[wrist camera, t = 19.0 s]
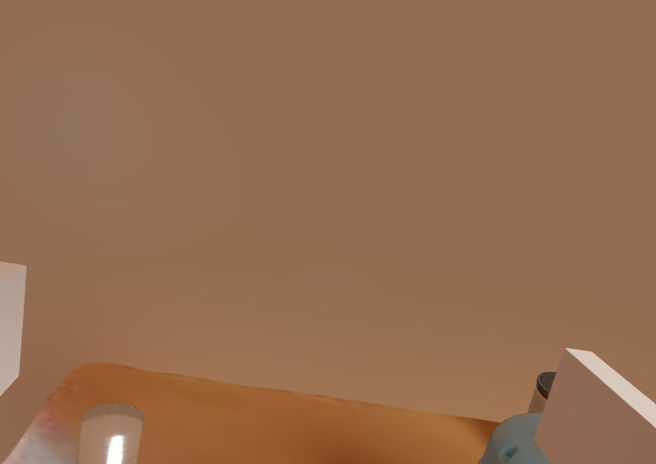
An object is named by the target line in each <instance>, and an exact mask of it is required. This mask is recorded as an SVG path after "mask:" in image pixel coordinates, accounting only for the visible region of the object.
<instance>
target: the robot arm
mask: <svg viewBox="0 0 656 464" xmlns="http://www.w3.org/2000/svg"><path fill="white" fill-rule="evenodd" d="M26 267H27V266H26V265H19V264H13V263H6V262H0V396H1V395H2V394H3V392H4V391H5V390H6V389H7V388H8V387H9V386H10V385H11V384H12V383H13V382H14V381H15V379H16V378H17V377H18V376H19V366H20V352H21V337H22V323H23V308H24V294H25V281H26ZM478 464H656V404H655V403H653V402H652V401H651V400H650V399H649V398H647V397H646V396H645V395H643V394H642V393H641V392H640V391H639V390H637V389H636V388H635V387H634V386H633V385H631V384H630V383H629V382H628V381H627V380H625V379H624V378H623V377H622V376H620V375H619V374H618V373H617V372H615V371H614V370H613V369H612V368H610V367H609V366H608V365H607V364H606V363H605V362H603V361H602V360H601V359H600V358H598V357H597V356H596V355H595V354H594V353H592V352H588V351H582V350H576V349H569V348H565V349H564V352H563V355H562V358H561V360H560V363H559V366H558V369H557V372H556V375H555V378H554V381H553V384H552V387H551V390H550V393H549V396H548V399H547V402H546V405H545V408H544V411H543V413H526V414H520V415H516V416H513V417H511V418H508V419H507V420H505V421H503V422H502V423H500V424H499V425H498V426H497V427H496V428H495V430H494V431H493V433H492V435H491V437H490V439H489V442H488V444H487V447H486V450H485V452H484V455H483V457H482V458H481V459H480V460H479V462H478Z"/></svg>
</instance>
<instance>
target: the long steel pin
mask: <svg viewBox="0 0 656 464" xmlns="http://www.w3.org/2000/svg"><path fill="white" fill-rule="evenodd" d="M142 424H143V415H142V413H141V412H140V411H139V410H138V409H137V408H136V407H134V406H132V405H129V404H125V403H105V404H101V405H98V406H95V407H93V408H91V409H89V410H88V411H87V412H86V413H85V414H84V415H83V417H82V421H81V431H80V441H79V450H78V460H77V464H137V461H138V453H139V446H140V439H141V431H142Z"/></svg>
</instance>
